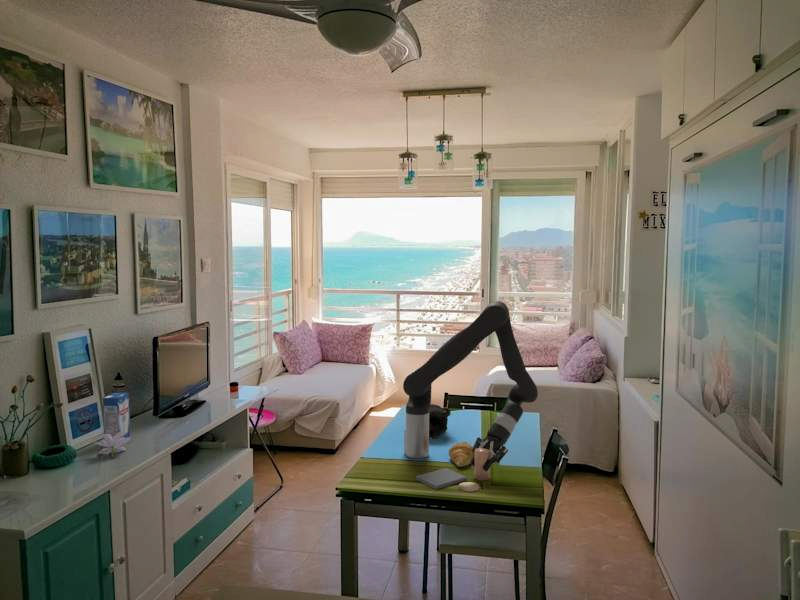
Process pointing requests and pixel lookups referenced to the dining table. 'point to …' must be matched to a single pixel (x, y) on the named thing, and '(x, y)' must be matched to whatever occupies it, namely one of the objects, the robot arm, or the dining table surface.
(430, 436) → the puffin
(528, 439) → the dining table surface
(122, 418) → the milk carton
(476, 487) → the cork coaster
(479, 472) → the pinkish tan rounded cylinder
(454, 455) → the croissant
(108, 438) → the water lily
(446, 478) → the slate board
